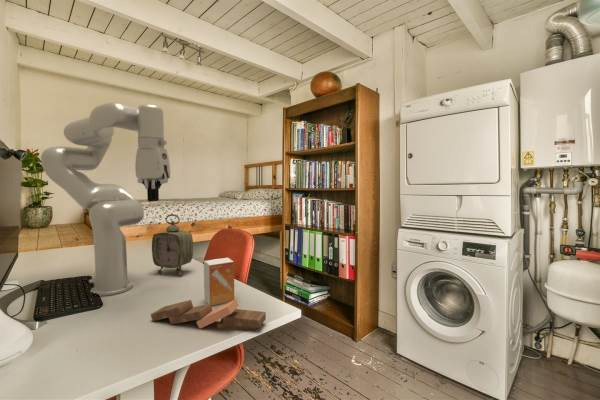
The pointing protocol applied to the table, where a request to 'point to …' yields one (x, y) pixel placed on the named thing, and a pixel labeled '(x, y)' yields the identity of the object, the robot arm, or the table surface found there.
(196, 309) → the domino
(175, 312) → the domino
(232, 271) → the small box
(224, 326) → the domino
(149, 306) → the table surface
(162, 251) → the tabletop clock
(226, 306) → the domino
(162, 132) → the robot arm
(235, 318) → the domino
